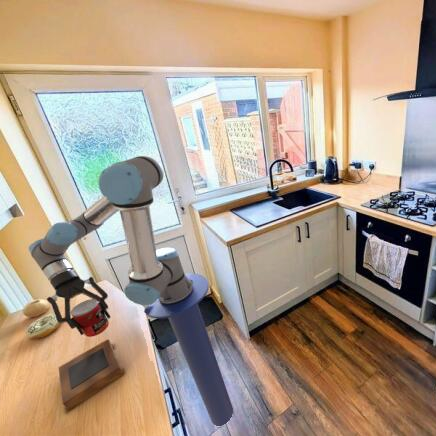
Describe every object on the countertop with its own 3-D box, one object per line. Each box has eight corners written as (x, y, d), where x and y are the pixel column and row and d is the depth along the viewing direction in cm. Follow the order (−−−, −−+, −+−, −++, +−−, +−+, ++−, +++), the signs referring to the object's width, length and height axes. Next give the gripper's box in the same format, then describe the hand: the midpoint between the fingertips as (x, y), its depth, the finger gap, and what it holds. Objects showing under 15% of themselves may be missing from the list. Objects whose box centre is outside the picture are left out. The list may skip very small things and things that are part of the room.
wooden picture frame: (112, 345, 89) (108, 338, 88) (123, 373, 78) (119, 366, 77) (63, 374, 80) (58, 367, 79) (68, 410, 70) (62, 403, 68)
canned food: (100, 336, 88) (86, 313, 83) (79, 338, 88) (64, 316, 84) (114, 319, 95) (102, 297, 90) (94, 321, 95) (81, 299, 91)
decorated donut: (26, 345, 93) (21, 338, 92) (33, 327, 101) (28, 320, 100) (61, 330, 98) (56, 323, 97) (64, 314, 107) (60, 308, 105)
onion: (31, 322, 104) (22, 309, 101) (24, 316, 108) (15, 304, 105) (54, 309, 111) (46, 297, 108) (47, 304, 114) (39, 292, 111)
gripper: (95, 264, 100) (126, 309, 98) (27, 295, 86) (62, 348, 83) (93, 257, 95) (126, 304, 93) (21, 288, 81) (58, 345, 78)
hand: (96, 325), depth 88 cm, fingers closed on canned food, 8 cm apart
